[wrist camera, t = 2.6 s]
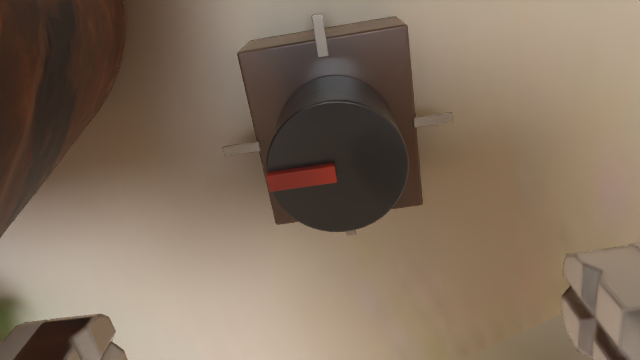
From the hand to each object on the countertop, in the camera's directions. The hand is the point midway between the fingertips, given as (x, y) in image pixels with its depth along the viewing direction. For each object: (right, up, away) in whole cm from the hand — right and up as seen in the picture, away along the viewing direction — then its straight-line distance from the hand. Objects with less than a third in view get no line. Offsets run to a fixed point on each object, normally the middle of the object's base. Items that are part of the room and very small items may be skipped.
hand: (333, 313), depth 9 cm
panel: (0, +5, +12) cm, 13 cm away
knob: (0, +4, +9) cm, 10 cm away
